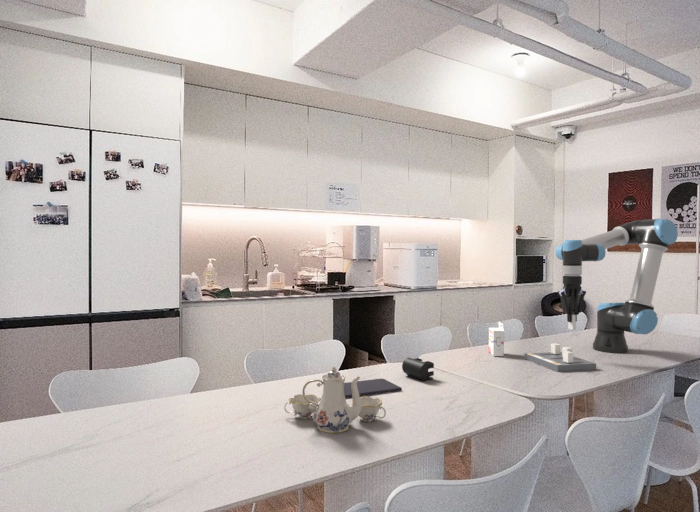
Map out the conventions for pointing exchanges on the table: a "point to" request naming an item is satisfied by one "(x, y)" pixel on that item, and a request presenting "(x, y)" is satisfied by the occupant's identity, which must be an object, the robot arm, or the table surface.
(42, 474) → the table surface
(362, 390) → the notebook
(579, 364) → the switch panel
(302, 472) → the table surface
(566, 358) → the tab
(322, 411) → the chinaware
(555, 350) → the tab
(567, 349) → the tab
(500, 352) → the ink cartridge box
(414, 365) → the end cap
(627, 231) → the robot arm
